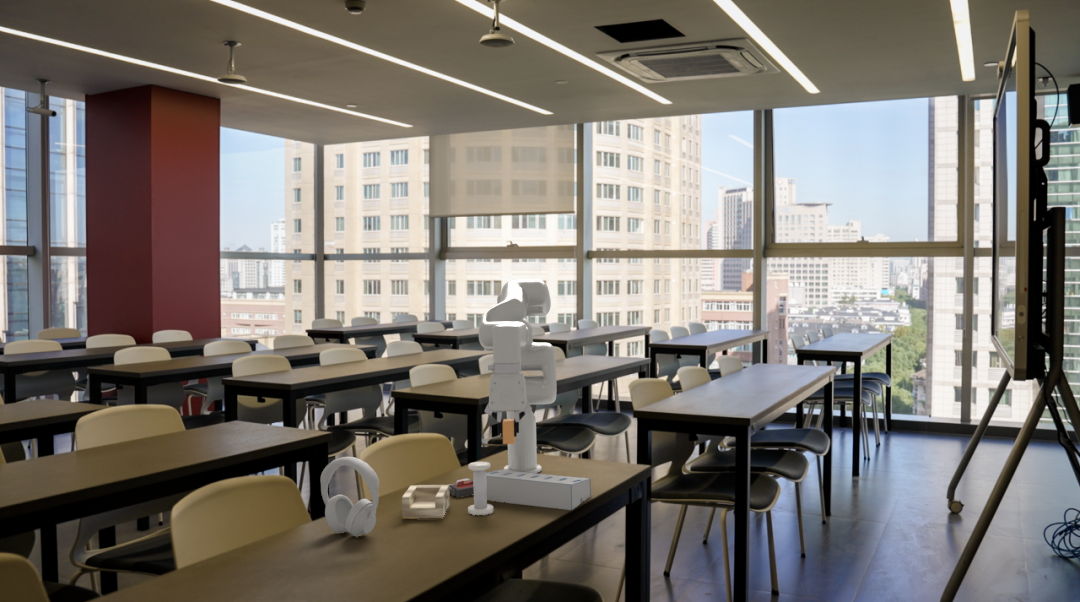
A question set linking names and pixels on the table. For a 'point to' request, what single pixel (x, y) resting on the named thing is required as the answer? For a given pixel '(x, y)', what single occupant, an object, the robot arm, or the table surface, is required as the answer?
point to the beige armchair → (426, 501)
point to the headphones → (342, 509)
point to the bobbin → (480, 489)
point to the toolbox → (461, 488)
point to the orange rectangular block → (508, 431)
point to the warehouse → (537, 489)
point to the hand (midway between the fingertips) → (508, 435)
